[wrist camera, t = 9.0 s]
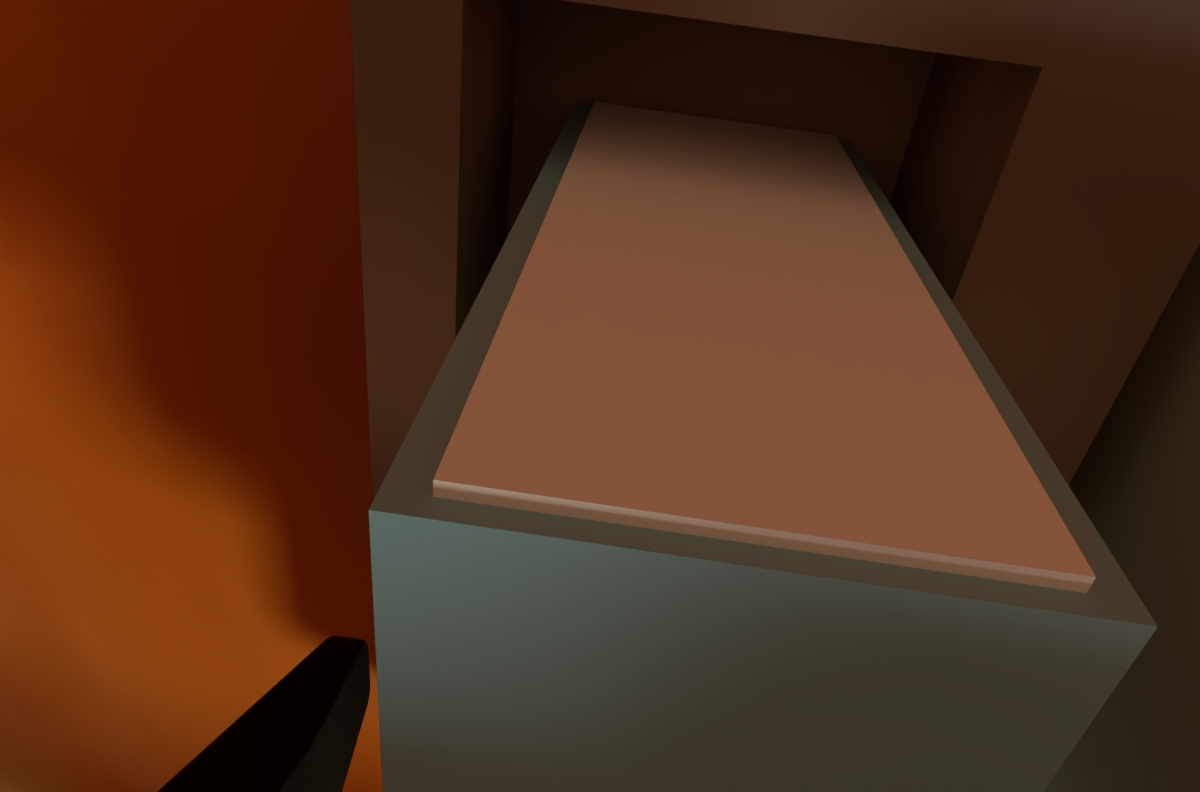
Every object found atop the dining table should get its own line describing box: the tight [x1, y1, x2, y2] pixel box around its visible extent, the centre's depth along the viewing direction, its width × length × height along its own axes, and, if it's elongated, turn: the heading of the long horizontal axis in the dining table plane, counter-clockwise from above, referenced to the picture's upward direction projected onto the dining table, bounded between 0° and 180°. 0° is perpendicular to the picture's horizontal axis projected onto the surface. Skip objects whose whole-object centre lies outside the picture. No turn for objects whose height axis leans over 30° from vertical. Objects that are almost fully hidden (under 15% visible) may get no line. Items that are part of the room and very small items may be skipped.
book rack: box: [350, 0, 1200, 502], centre depth 12 cm, size 16×21×4 cm
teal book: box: [369, 102, 1158, 792], centre depth 10 cm, size 11×4×8 cm, turn 174°
